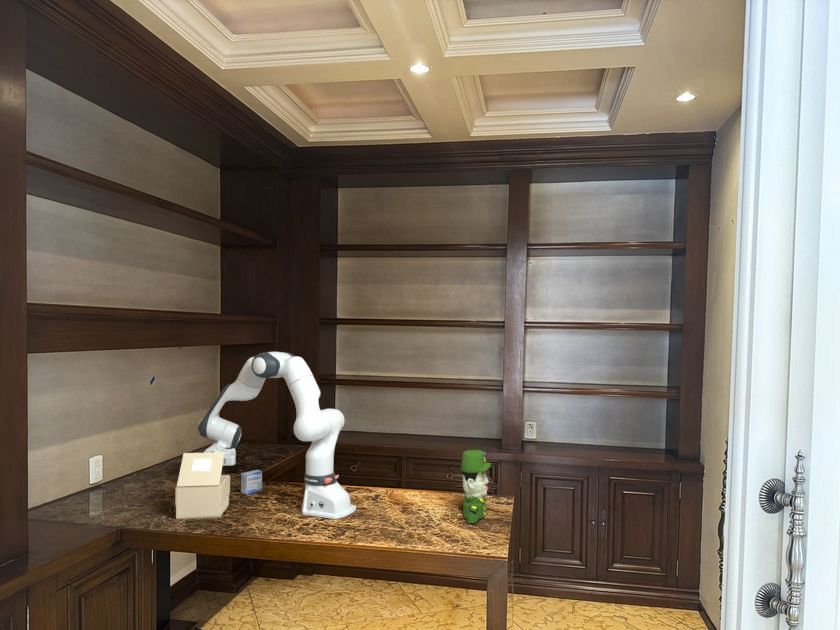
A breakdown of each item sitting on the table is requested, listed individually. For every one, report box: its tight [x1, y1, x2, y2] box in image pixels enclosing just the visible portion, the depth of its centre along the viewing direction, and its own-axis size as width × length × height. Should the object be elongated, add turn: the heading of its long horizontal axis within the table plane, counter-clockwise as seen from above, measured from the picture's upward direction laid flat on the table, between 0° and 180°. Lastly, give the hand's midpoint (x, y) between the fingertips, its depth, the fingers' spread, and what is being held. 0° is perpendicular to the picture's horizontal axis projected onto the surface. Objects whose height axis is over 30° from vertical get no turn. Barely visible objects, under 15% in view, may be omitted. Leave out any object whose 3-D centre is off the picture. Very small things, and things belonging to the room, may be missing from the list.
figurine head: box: [460, 449, 492, 524], centre depth 205 cm, size 22×12×25 cm, turn 167°
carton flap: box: [176, 452, 224, 487], centre depth 203 cm, size 13×15×1 cm
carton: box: [174, 474, 231, 520], centre depth 207 cm, size 14×17×12 cm
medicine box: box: [240, 469, 263, 495], centre depth 231 cm, size 8×4×9 cm, turn 143°
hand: (204, 465), depth 208 cm, fingers closed
